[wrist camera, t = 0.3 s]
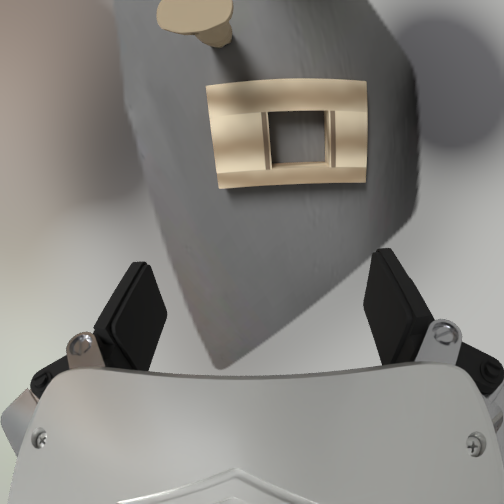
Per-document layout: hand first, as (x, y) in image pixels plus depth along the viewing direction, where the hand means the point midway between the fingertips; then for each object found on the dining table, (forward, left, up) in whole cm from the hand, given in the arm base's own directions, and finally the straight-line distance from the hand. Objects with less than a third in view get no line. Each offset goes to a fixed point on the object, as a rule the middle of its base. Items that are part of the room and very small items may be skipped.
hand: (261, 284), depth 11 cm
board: (-2, +4, -30) cm, 30 cm away
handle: (-16, -4, -30) cm, 34 cm away
